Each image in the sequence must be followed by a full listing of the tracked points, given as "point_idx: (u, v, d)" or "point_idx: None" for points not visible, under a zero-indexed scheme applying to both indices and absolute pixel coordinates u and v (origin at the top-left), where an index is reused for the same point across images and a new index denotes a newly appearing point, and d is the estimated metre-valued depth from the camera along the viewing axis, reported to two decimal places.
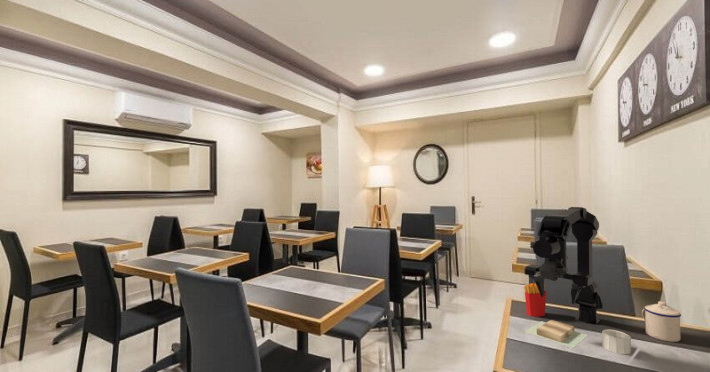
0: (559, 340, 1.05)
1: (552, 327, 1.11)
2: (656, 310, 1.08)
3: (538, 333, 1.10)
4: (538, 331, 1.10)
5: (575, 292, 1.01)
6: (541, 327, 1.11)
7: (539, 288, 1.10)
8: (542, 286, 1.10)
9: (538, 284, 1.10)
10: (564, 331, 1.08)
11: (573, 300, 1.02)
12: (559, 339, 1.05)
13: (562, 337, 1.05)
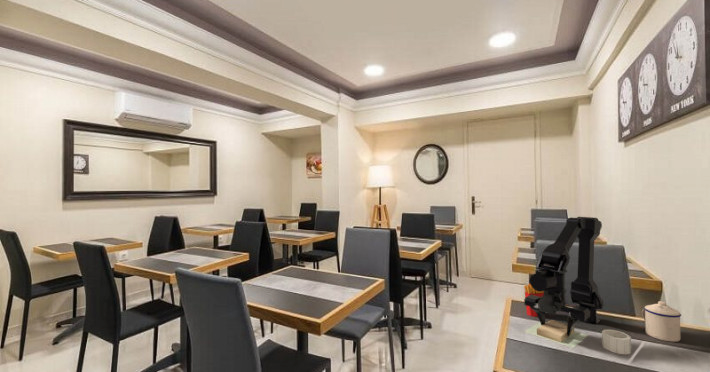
0: (559, 340, 1.05)
1: (552, 327, 1.11)
2: (656, 310, 1.08)
3: (538, 333, 1.10)
4: (538, 331, 1.10)
5: (570, 324, 1.06)
6: (541, 327, 1.11)
7: (540, 319, 1.14)
8: (543, 317, 1.14)
9: (539, 315, 1.14)
10: (564, 331, 1.08)
11: (568, 332, 1.07)
12: (559, 339, 1.05)
13: (562, 337, 1.05)
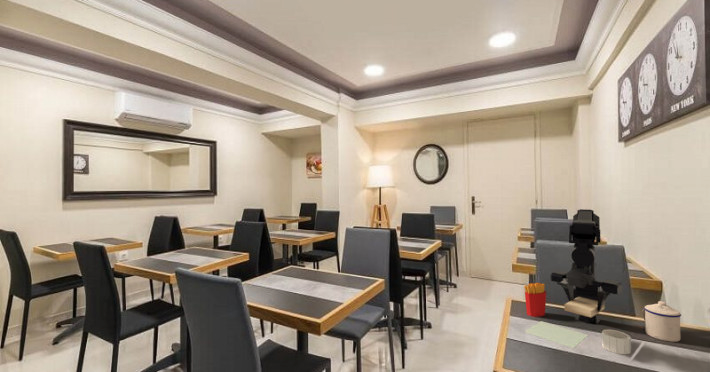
0: (589, 315, 0.99)
1: (581, 303, 1.05)
2: (656, 310, 1.08)
3: (566, 309, 1.04)
4: (566, 307, 1.04)
5: (601, 299, 1.01)
6: (569, 303, 1.06)
7: (568, 295, 1.08)
8: (571, 293, 1.09)
9: (567, 291, 1.08)
10: (594, 306, 1.02)
11: (599, 307, 1.02)
12: (589, 314, 0.99)
13: (592, 312, 1.00)
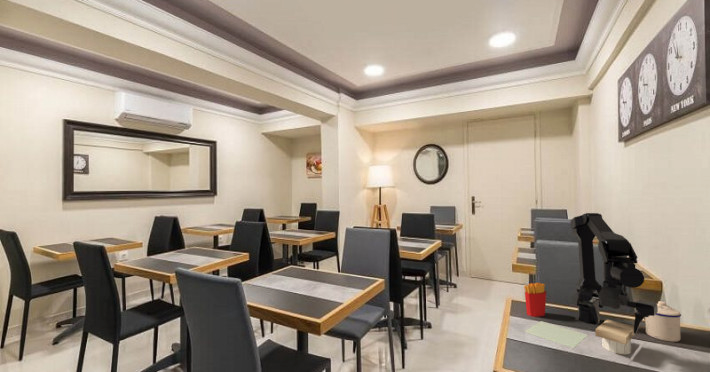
0: (624, 342, 0.94)
1: (612, 328, 1.00)
2: None
3: (597, 334, 0.99)
4: (597, 332, 0.99)
5: (638, 321, 0.95)
6: (600, 327, 1.00)
7: (595, 314, 1.04)
8: (598, 312, 1.04)
9: (593, 310, 1.04)
10: (627, 332, 0.97)
11: (635, 329, 0.96)
12: (624, 341, 0.94)
13: (627, 339, 0.94)
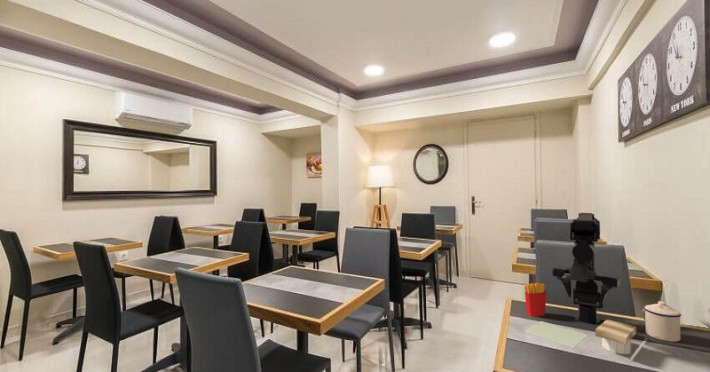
0: (624, 342, 0.94)
1: (612, 328, 1.00)
2: (656, 310, 1.08)
3: (597, 334, 0.99)
4: (597, 332, 0.99)
5: (604, 293, 1.06)
6: (600, 327, 1.00)
7: (567, 289, 1.14)
8: (569, 287, 1.15)
9: (566, 285, 1.14)
10: (627, 332, 0.97)
11: (601, 300, 1.07)
12: (624, 341, 0.94)
13: (627, 339, 0.94)
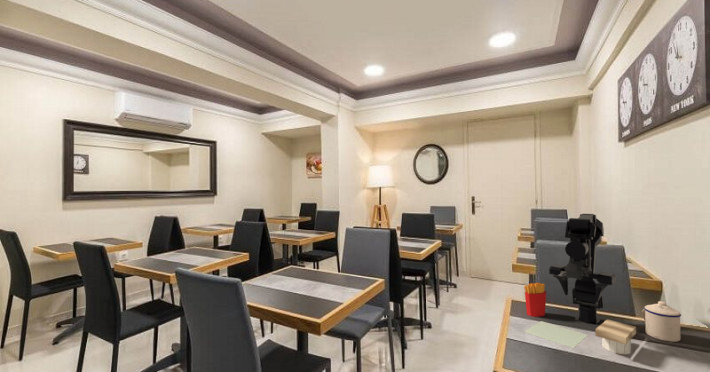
0: (624, 342, 0.94)
1: (612, 328, 1.00)
2: (656, 310, 1.08)
3: (597, 334, 0.99)
4: (597, 332, 0.99)
5: (599, 291, 1.07)
6: (600, 327, 1.00)
7: (563, 287, 1.16)
8: (566, 285, 1.16)
9: (562, 283, 1.16)
10: (627, 332, 0.97)
11: (597, 298, 1.08)
12: (624, 341, 0.94)
13: (627, 339, 0.94)
